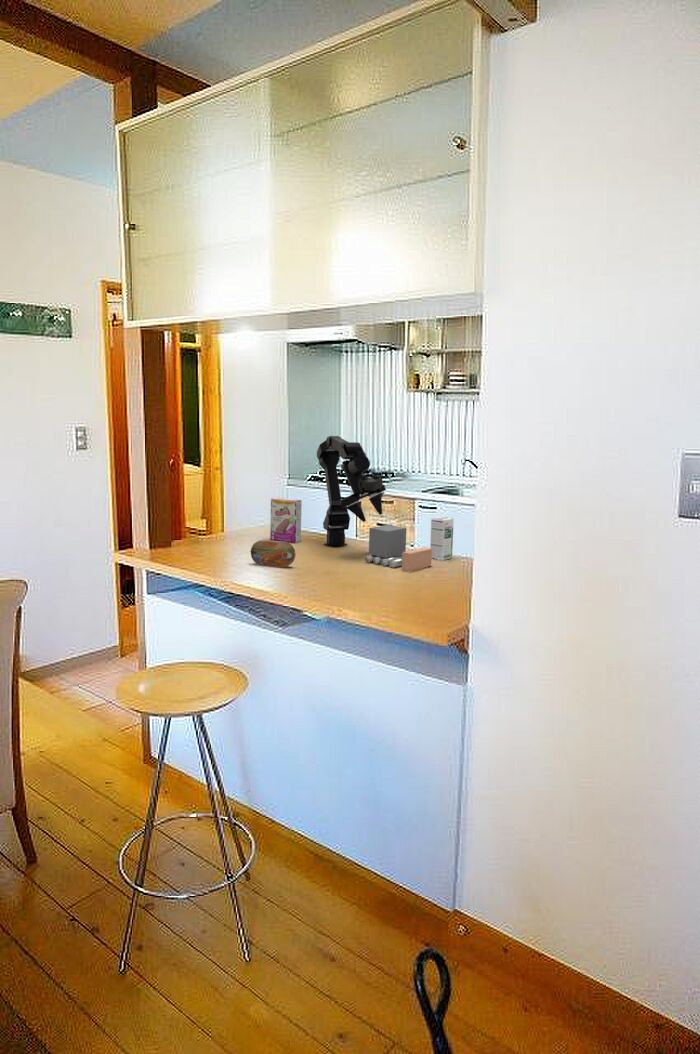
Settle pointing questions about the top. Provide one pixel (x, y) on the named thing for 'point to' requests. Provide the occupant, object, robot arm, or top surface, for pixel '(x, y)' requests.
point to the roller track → (385, 560)
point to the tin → (273, 553)
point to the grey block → (387, 541)
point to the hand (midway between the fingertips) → (373, 517)
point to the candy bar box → (285, 520)
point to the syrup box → (441, 537)
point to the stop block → (416, 559)
